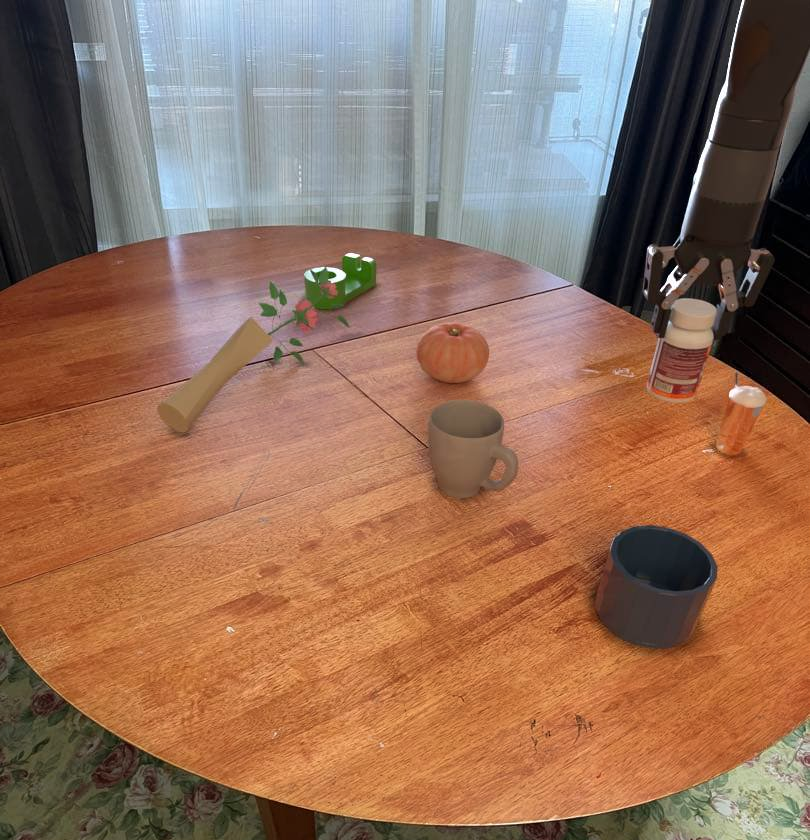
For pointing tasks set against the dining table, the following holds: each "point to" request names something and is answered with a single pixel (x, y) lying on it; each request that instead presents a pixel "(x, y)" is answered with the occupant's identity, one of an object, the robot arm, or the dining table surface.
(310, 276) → the tape dispenser
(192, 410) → the flower vase
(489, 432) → the mug
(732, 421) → the milkshake
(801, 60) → the robot arm
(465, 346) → the pumpkin
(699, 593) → the pen holder
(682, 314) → the pill bottle
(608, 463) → the dining table surface
